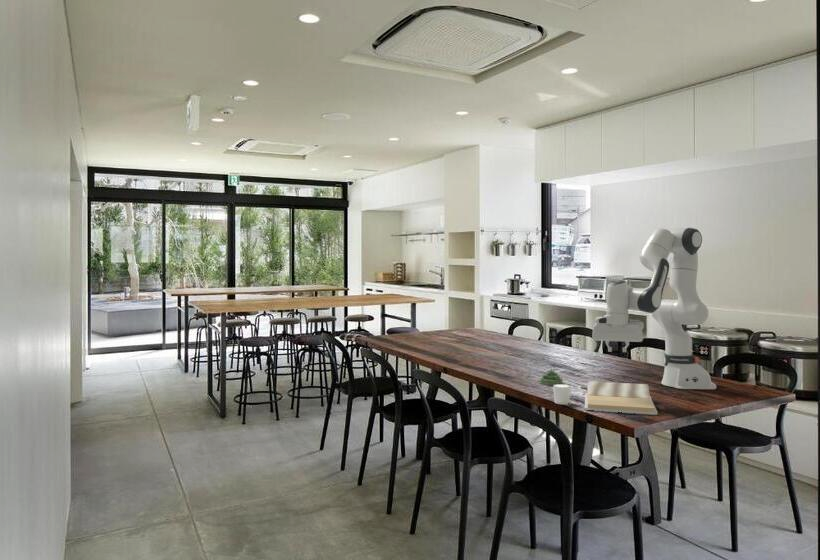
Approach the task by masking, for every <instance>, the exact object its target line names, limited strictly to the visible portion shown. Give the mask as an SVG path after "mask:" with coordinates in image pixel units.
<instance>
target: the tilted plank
mask: <svg viewBox="0 0 820 560" xmlns="http://www.w3.org/2000/svg"><path fill="white" fill-rule="evenodd" d="M586 383H587V392H586V393H587V398H588V395H594V396H612V397H630V398H648V399H650V397H651V395H650V388H649V384H648V383H647V384H646V383H630V382H629V383H627V382H608V381H607V382H606V381H587V382H586Z"/></svg>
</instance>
